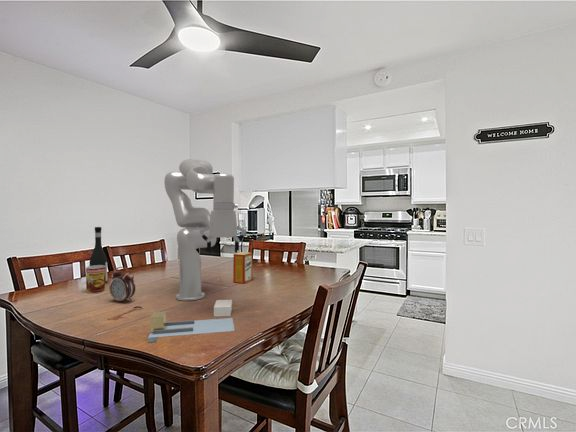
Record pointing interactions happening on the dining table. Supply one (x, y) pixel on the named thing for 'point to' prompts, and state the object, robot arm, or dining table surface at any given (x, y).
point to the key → (124, 313)
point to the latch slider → (157, 321)
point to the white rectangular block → (223, 308)
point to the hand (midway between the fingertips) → (223, 252)
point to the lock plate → (193, 328)
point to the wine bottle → (98, 252)
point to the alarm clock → (122, 285)
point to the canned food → (95, 279)
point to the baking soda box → (242, 267)
